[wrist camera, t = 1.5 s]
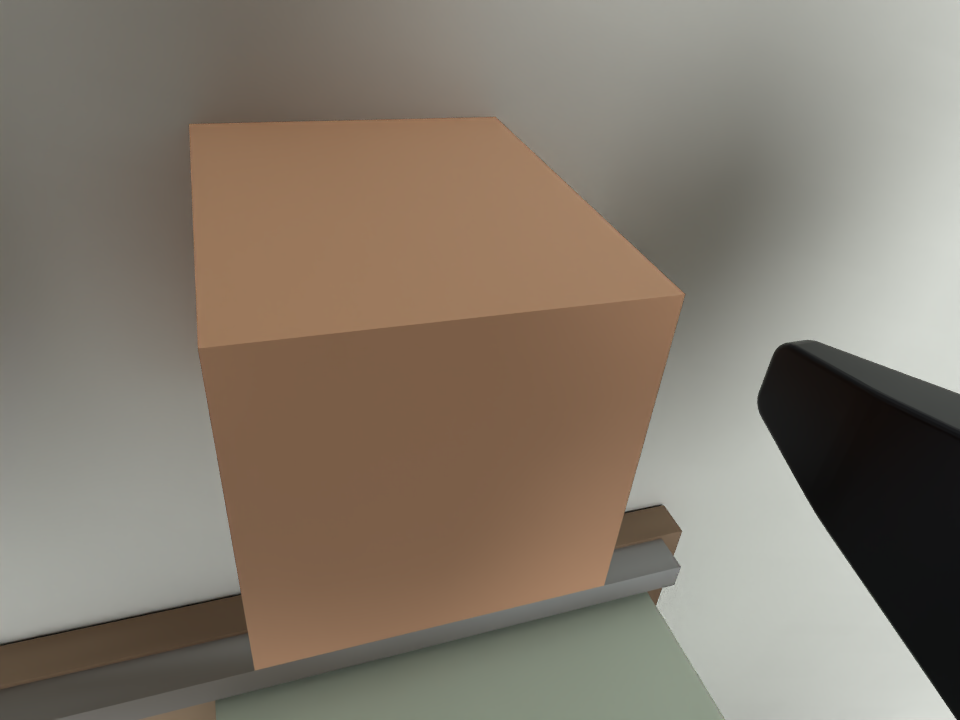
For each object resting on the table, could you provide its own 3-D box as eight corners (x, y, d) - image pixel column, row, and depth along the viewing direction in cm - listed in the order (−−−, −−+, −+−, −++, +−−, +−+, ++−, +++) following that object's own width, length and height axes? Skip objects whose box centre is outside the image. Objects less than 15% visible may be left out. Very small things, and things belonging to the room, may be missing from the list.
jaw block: (472, 351, 12) (603, 585, 9) (228, 381, 11) (254, 670, 7) (494, 115, 10) (685, 294, 6) (188, 122, 9) (197, 347, 5)
